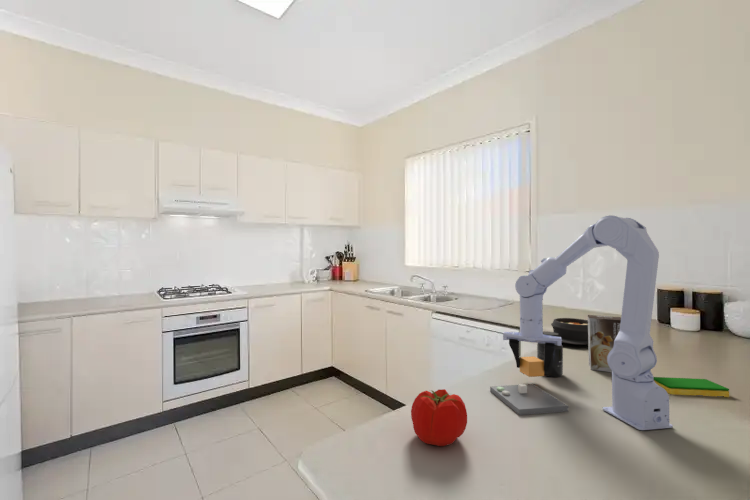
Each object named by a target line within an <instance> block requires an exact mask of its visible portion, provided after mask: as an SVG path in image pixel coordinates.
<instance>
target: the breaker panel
mask: <svg viewBox="0 0 750 500" xmlns="http://www.w3.org/2000/svg"><path fill="white" fill-rule="evenodd" d="M524 384H525V383H524ZM525 385H526V386H527V393H523V394H521V393H519V392H518V384H511V385H510V384H509V385H506V384H505V385H494V386H489V392H490V393H492V394H493V395H495V397H497V398H498V399H499V400H500V401H502V403H504V404H505V405H507V406H508V407H509V408H510V409H511V410H512V411H514V412H515V413H516V414H517V415H518V416H523V415H534V414H535V415H536V414H549V413H551V414H552V413H562V412H563V413H565V412H569V405H567V404H566V403H564V402H562V401H561V400H559V399H558V398H557V397H554V396H553V395H552V394H550V393H549V392H546V390H543V389H542V388H540V387H539V386H537V385H535V384H533V383H526V384H525Z"/></svg>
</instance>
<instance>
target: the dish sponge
mask: <svg viewBox="0 0 750 500" xmlns="http://www.w3.org/2000/svg"><path fill="white" fill-rule="evenodd" d="M653 377H654V381H655V383H656V384H657V385H659V386H660V387H662V388H664V389H665V390H666V391H667V393H668V395H675V396H676V395H678V396H681V395H682V396H696V395H703V397H717V396H724V397H723V398H730V388H728V387H725V386H724V385H721V384H718V383H716V382H714V381H712V380H709V379H707V378H690V377H689V378H688V377H687V378H686V377H668V376H667V377H665V376H662V377H661V376H653Z"/></svg>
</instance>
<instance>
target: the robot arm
mask: <svg viewBox="0 0 750 500" xmlns="http://www.w3.org/2000/svg"><path fill="white" fill-rule="evenodd" d="M601 247H611V248H613V249H615V250H616V251H617V252H618V253H619V254H620V255H622V256H623V257H624V258H625V259H626V260H627V263H626V272H625V280H624V289H623V297H622V298H623V299H622V308H621V316H620V317H621V324H620V331H619V333H618V335H617V336H616V338H615V340H614V346H613V348H612V350H611V351H610V352H609V354H608V356H607V363H608V365H609V367H610V369H611V370H612V372H611V399H612V401H611V406H603V407H602V408H601V409H602V411H604V412H606V413H608V414H610V415H611V416H613V417H615V418H617V419H618V420H620V421H622V422H624V423H626V424H627V425H629V426H632V427H633V428H635V429H636V430H639V431H649V430H661V429H670V428H673V427H674V425H673V424H671V423H670V396H669V394H668V393H667V391H666V390H665V389H664V388H662V387H660V386H659V385H657V384H656V383H655V381H654V377H655V376H654V374H653V373H652V371H651V370H653V369H654V368H655V367H656V366H657V362H658V358H657V353H656V352H655V351H654V338H652V336H651V329H652V328H651V326H652V318H653V317H652V316H653V311H654V310H653V308H654V301H655V291H656V284H657V283H656V282H657V275H658V265H659V259H660V254H659V253H660V251H659V249H658V248H657V247H656V245H655V243H654V241H653V240H652V238H651V237H650V235H649V234H648V230H647V227H646V226H644V225H643V224H642V223H640V222H639V221H637V220H636V219H634V218H631V217H621V216H617V215H613V214H612V215H611V214H609V215H605V216H602V217H600V218H599V219H598V220H596V222H595V223H593V224H591V225H589V226H588V227H587V229H585V231H584V232H583V233H582V234H581V235H579V236H578V237H577V238H576V239H575V240H574V241H573V242H572V243H571V244H569V246H568V247H566V248H565V249H564V250H563V251H561V252H560V253H559V254H558V255H557V256H556V257H553V256H550V257H545V258H543V259H541V260H540V263H539V265H537V266H536V267H535V268H534V269H531V270H529V271H528V274H527V275H520V276H519V277H518V278H517V280H516V281H515V290H516V292H517V294H518V295H519V332H517V331H516V332H515V331H511V332H510V331H503V332H502V340H503V341H508V344H509V348H510V349H511V351H512V353H513V356H514V359H515V363H516V368H517V369H520V342H527V343H536V344H537V343H544V355H545V356H544V371H546V372H547V367H548V363H549V360H550V357H551V355H552V353H553V352H554V350H555V345H558V346H562V347H563V345H562V339H561V337H556V336H549V335H543V332H544V331H543V330H544V329H543V327H544V325H543V323H544V319H543V316H544V314H543V313H544V311H543V304H544V303H543V301H544V295H545V293H546V292H547V290H548V288H549V287H550V286H552V285H553V284H554V283H556V282H557V281H558V280H560V279H561V278H562V277H563V276H565V275H566V274H567V269H568V268H567V267H568V266H570V265H571V264H572V263H574V262H575V261H577V260H578V259H580V258H581V257H583V256H584V255H586V254H588V252H590V251H591V250H593V249H595V248H601Z"/></svg>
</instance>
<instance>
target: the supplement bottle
mask: <svg viewBox="0 0 750 500" xmlns="http://www.w3.org/2000/svg"><path fill="white" fill-rule="evenodd" d="M543 335H549V336H556V337H559V334H558V333H554V331H543ZM536 345H537V346H536V350H537V351H536V358H538V359H540V360H542V361H544V356H545V355H544V343H536ZM563 350H564V347H563V345H562V346H558V345H555V350H554V352H553V353H552V355H551V357H550V360H549V363H548V367H547V372H546V371H544V377H552V378H560V377H561V376H563V373H564V351H563Z"/></svg>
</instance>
